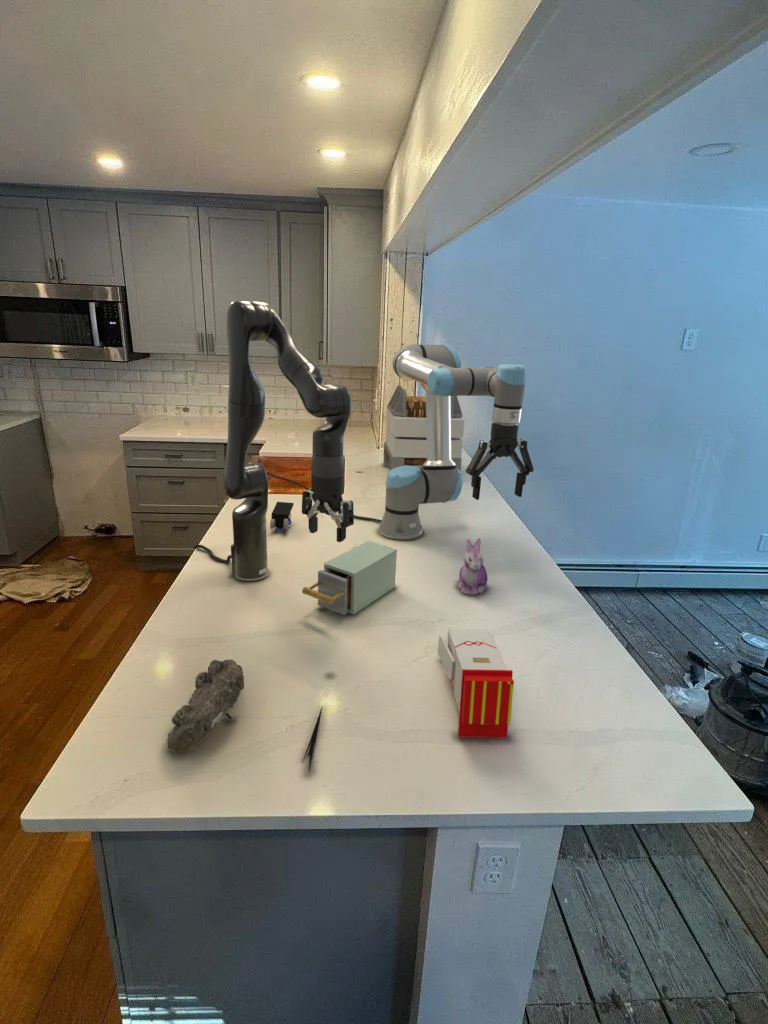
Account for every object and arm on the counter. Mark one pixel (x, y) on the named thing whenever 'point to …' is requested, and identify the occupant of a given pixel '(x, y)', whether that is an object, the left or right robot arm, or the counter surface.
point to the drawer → (332, 591)
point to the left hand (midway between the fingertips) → (326, 536)
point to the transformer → (415, 431)
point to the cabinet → (366, 572)
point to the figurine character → (281, 516)
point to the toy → (478, 682)
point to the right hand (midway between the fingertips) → (496, 497)
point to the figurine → (473, 570)
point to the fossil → (206, 705)
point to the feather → (313, 740)
